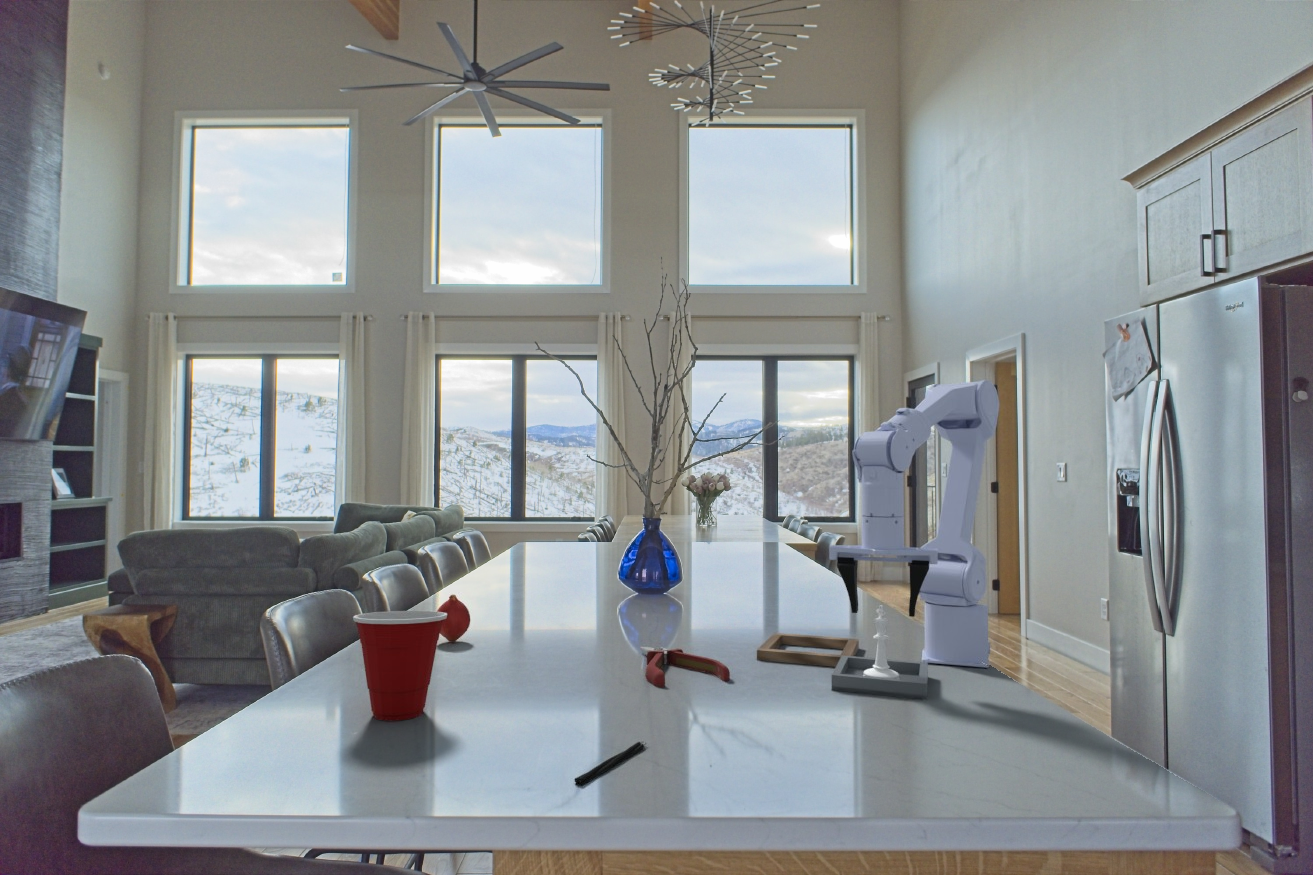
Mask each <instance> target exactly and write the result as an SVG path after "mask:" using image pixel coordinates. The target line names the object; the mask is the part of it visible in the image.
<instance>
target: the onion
mask: <svg viewBox="0 0 1313 875" xmlns="http://www.w3.org/2000/svg"><path fill="white" fill-rule="evenodd" d="M436 612H443V613H447V618H446V619H444V622H443V625H442V627H441V631H440V634H439V635H441V636H442V637H443V638H444V639H446V640H447V641H448V642H450V643H455V642H457V641H458V640H459V639H460V638H461V637H463V636H464V634H466V633H467V631H468V629H469V627H470V626H471V625H470V624H471V615H470V611H469V609H468V607H467V606H466V605H465V603H463V601H460V600H459V598H457V596H456V594H450V596H449V597H448V599H447V600H446V601H445V602H443V603H442V604H441V605H440V606H439V607H438V609H437V611H436Z"/></svg>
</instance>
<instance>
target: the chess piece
mask: <svg viewBox="0 0 1313 875" xmlns="http://www.w3.org/2000/svg"><path fill="white" fill-rule="evenodd" d="M877 613H878V617H876V618H874V619H873V622H874V623H873V624H874V626H875V630H876V632H877V633H876V634H875V635H873V640H877V644H876V645H877V646H876V653H875V654H876V655H875V658H876V660H875V665H873V667H874V668H870V669H867V670H865V671H864V672H863V673H864V675H863V676H870V677H880V678H891V679H900V678H899V674H898V673H897V672H896V671H893V670H891V669H888V668H890V666H888V664H887V651H886V640H887V641H888V640H890V637H889V635H886V631H887V627H888V625H889V620H888V618H885V617H884V616H885V615H886V614H887V612H886V611H885V610H884V605H881V604H880V605H878V608H877V609H876V614H877Z"/></svg>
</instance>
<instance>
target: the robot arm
mask: <svg viewBox="0 0 1313 875" xmlns="http://www.w3.org/2000/svg"><path fill="white" fill-rule="evenodd" d="M997 390H998V389H996V386H995V385H994V384H993V382H992V381H991V380H989V379H983V380H980V381H967V382H957V383H956V382H955V383H944V384H943V383H942V384H941V383H934V384H931V386H929V387H928V388H926V389H925V395H924V399H923V400H922V401H921V402H920V403H919V404H918V405H917V406H916V407H915V408H909V407H899V408H898V409H896V411H895V415H894V416H893V417H891V418H890V419H888V421H883V422H882V423H881V424H880V427H878V428H877V429H876V430H873V431H865V432H863V433H862V434H861V435H859V436H858V437H857V438H856V439H855V443H854V446H853V450H852V451H851V452H852V453H851V454H852V460H853V463H854V465H855V467H856V470H857V472H856V473H857V476H856V477H857V479H858V483H860V484H861V544H860V545H857V544H855V545H848V544H847V545H843V544H842V545H839V544H838V545H837V544H836V545H835V544H831V545H830V546H829V550H828V552H829V553H828V554H829V560H830V561H837V562H836V567H837V569H838V570H837V571H838V572H839V574H840V577H841V578H842V581H843V583H844V585H845V589H846V592H847V594H848V595H847V596H848V598H849V602H850V609H851V613H852V614H857V613H858V612H859V597H858V564H859V562H858V561H865V562H866V561H867V562H872V561H873V562H889V563H891V562H892V563H910V565H909V588H910V590H909V591H910V592H909V593H910V594H909V603H908V604H909V606H908V617H914V618H915V617H916V616H915V615H916V605H917V600H918V599H919V600H920V601H923V602H924V648H923V649H922V654H921V662H926V663H928V664H938V665H939V664H940V665H950V666H951V665H952V666H962V667H963V666H964V667H973V668H975V667H977V668H985V669H986V668H989V667H990V663H989V662H990V661H989V655H991V642H990V641H989V612H988V605H986V604H979V602H980V601H981V599H982V598H984V595H985V593H986V590H987V582H988V580H987V579H988V578H987V573H986V572H987V569H986V566H987V559H986V557H985V555H984V554H983V553H982V552H981V550H979V549H978V548H977V547H976V546H975V545H974V544H973V543H972V537H973V536H972V535H973V530H974V529H973V528H974V523H975V518H976V517H975V516H976V510H977V505H978V496H979V491H980V487H981V486H980V485H981V479H982V472H983V467H984V460H985V454H986V448H987V441H988V440H989V439H991V438H992V437H994V436H995V434H996V428H997V423H998V416H999V410H1000V399H999V395H998V391H997ZM933 426H935V429H936V430H937V432H938V433H939V436H940V437H941V438H942V439H944V440H947V441H949V442H950V443H951V452H950V456H949V457H950V458H949V462H948V464H949V465H948V469H947V474H946V480H945V487H944V493H943V498H942V503H941V511H940V514H939V515H940V517H939V522H938V527H937V534H936V536H935V537H934V538H932V539H931V540H929V541H927V543H925V544H923V545H922V546H921V547H910V546H905V528H904V527H905V517H904V516H905V514H904V513H905V512H904V511H905V510H904V509H905V504H904V502H905V501H904V500H905V499H904V498H905V497H904V495H905V494H904V490H905V489H904V487H905V486H904V483H905V481H904V477H905V476H904V473H905V471H907V470H908V469H909V468H910V466H911V463H912V460H913V456H914V455H915V453H916V450H918V449H919V447H921V446H922V445H923V444H924V443H925V442H927V440H928V439H929V438H930V436H931V433H932V427H933ZM871 555H872V556H871ZM880 556H883V557H880ZM885 556H887V557H885ZM888 556H892V557H888ZM893 556H894V557H893ZM895 556H896V557H895ZM918 597H920V598H918ZM982 662H983V663H985V664H983V663H982ZM986 664H987V665H989V666H987V665H986Z"/></svg>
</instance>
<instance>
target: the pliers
mask: <svg viewBox="0 0 1313 875" xmlns="http://www.w3.org/2000/svg"><path fill="white" fill-rule="evenodd" d="M639 649H640V651H641V652H642V653H643V654H644V655H645V656H646V665H647V666H646V668H645V679H646V681H648V682H649V683H650V684H652V685H653V686H654V687H658V688H665V687H666V676H665V672H664V671H663V670H662V668H663V666H664V665H666V664H667V665H671V666H675V667H681V668H685V669H688V670H693V671H697V672H703V673H706V674H710V675H712V676H715V677H716V678H718V679H719V680H721V681H722V682H728V681H729V680H730V677H731V676H730V675H731V674H730V673H731V672H730V670H729V668H728V667H727V665H725V664H724V663H722V662H720V661H718V660H716V659H713V658H710V657H704V656H700V655H695V654H691V653H687V652H684V651H683V649H681V648H674V649H668V648H665V647H662V646H656V648H653V647H650V646H640V647H639Z"/></svg>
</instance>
